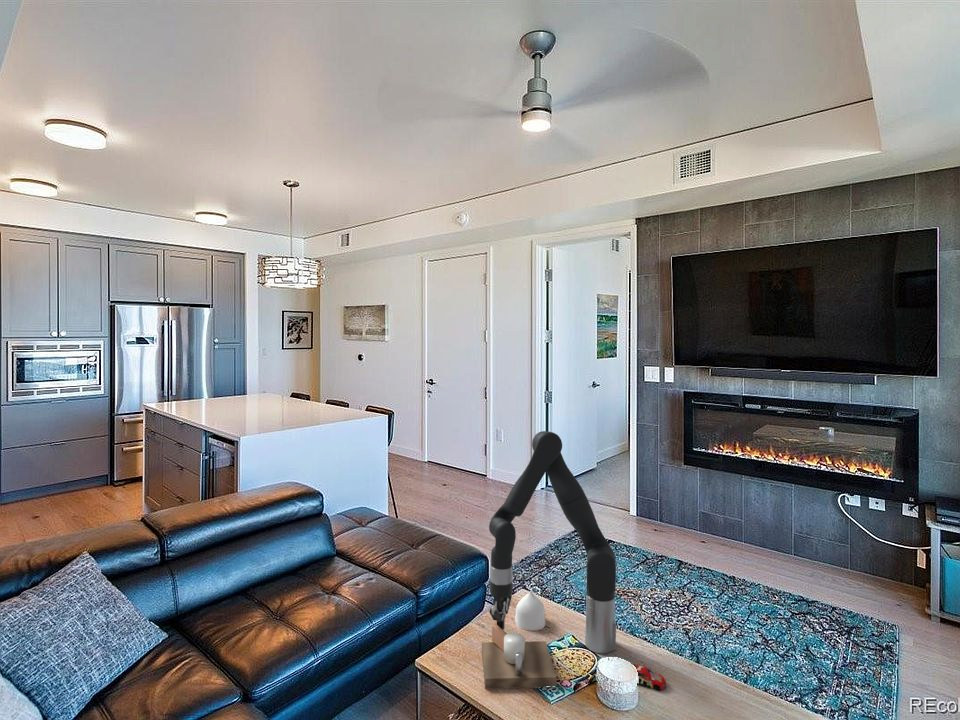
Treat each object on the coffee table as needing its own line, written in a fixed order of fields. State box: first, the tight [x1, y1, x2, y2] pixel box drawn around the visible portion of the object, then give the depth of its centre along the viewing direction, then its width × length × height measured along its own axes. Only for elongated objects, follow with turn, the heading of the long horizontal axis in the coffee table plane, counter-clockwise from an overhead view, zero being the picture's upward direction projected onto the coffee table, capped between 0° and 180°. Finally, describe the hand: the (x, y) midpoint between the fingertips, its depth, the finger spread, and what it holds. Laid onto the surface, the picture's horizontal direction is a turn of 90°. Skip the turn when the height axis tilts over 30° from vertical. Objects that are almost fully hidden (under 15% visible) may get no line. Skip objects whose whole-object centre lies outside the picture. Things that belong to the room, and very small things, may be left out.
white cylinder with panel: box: [491, 624, 526, 664], centre depth 161 cm, size 14×6×6 cm, turn 33°
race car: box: [632, 663, 667, 692], centre depth 153 cm, size 13×5×4 cm, turn 63°
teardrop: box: [514, 589, 546, 631], centre depth 184 cm, size 11×11×12 cm
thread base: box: [481, 640, 558, 690], centre depth 158 cm, size 21×18×9 cm
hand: (500, 629), depth 169 cm, fingers closed
